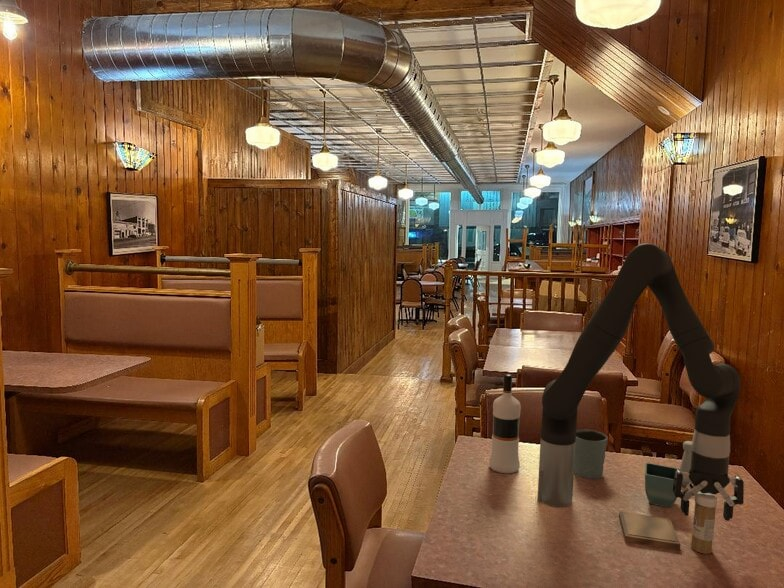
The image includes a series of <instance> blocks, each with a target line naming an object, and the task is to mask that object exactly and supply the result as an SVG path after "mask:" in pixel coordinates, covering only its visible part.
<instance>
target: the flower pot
mask: <svg viewBox="0 0 784 588" xmlns="http://www.w3.org/2000/svg"><path fill="white" fill-rule="evenodd" d="M676 469H679V467H678V468H677V467H674V466H665V465H661V464H657V463H656V464H655V463H651V462H650V463H649V462H645V463H644V490H645V494H646V495H645V496H646V498H647V500H648V503H649V504H652V505H656V506H660V507H666V508H671V507H672V506H673V505H674V504H675V503H676V501H677V500H678V498H677V497H675V495H674V493H673V483H674V475H675V470H676ZM679 470H680V469H679Z"/></svg>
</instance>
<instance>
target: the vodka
mask: <svg viewBox="0 0 784 588" xmlns="http://www.w3.org/2000/svg"><path fill="white" fill-rule="evenodd" d="M502 387H503V388H502V395H500V396H499V397H497V398H495V399H494V401H493V403H492V416H493V419H492V435H491V454H490V457H489V461H488V464H489V468H490V469H492V471H494V472H497V473H499V474H505V475H507V474H514V473H516V472H518V471H519V469H520V467H521V466H520V460H519V459H520V457H519V443H520V438H519V437H520V434H519V433H520V419H521V403H520V400H518V399H517V398H516V397H514V396H513V395H512V394H513V393H512V388H513V375H512V374H510V373H505V374H503V386H502Z"/></svg>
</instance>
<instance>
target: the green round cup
mask: <svg viewBox="0 0 784 588" xmlns="http://www.w3.org/2000/svg"><path fill="white" fill-rule="evenodd" d="M608 439H609V438H608V436H607V435H606V434H604V433H603V432H601V431H597V430H593V429H592V430H591V429H576V445H575V462H574V475H577V476H578V477H581V478H585V479H592V480H593V479H594V480H595V479H599V478H601V477H603V473H604V464H605V459H606V450H607V445H608Z"/></svg>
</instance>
